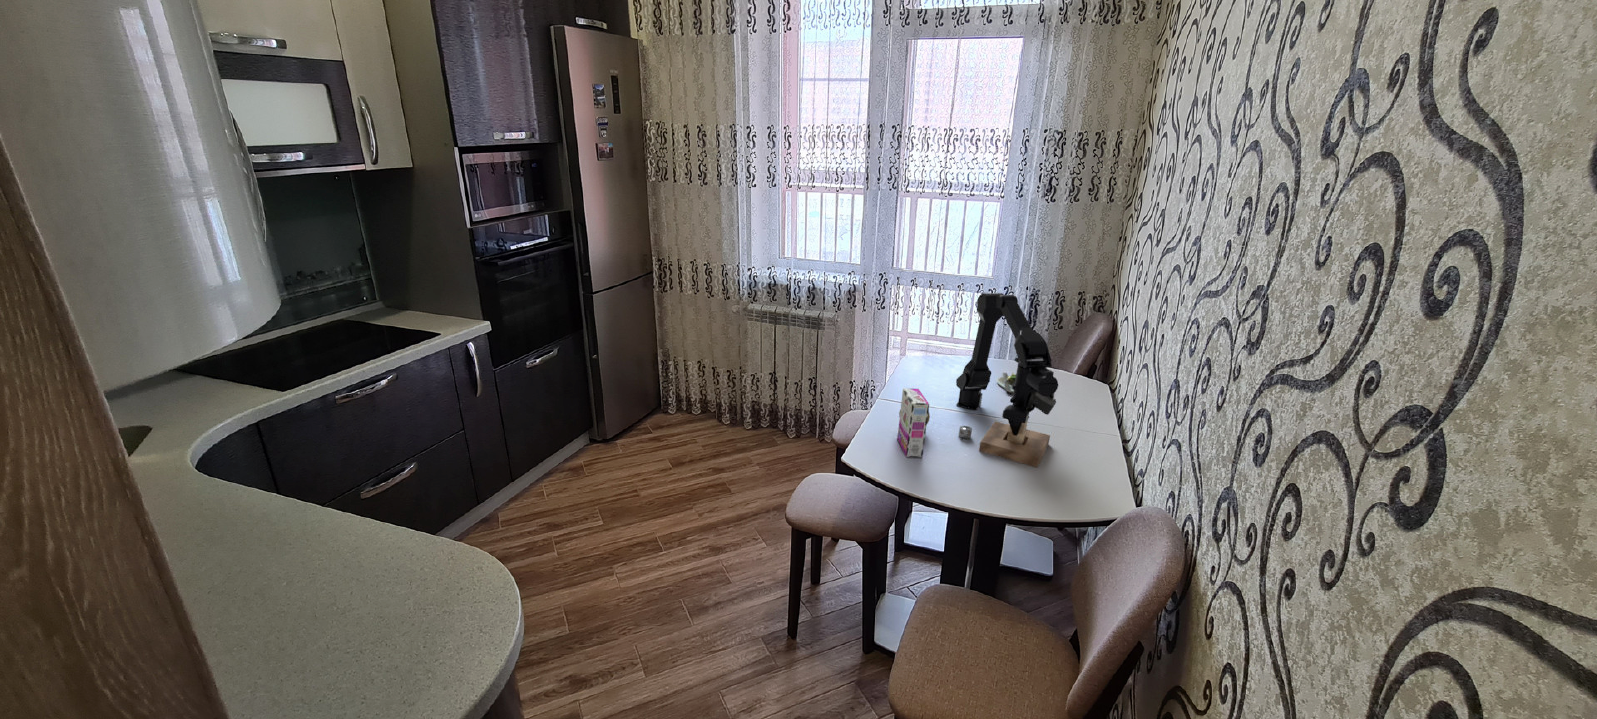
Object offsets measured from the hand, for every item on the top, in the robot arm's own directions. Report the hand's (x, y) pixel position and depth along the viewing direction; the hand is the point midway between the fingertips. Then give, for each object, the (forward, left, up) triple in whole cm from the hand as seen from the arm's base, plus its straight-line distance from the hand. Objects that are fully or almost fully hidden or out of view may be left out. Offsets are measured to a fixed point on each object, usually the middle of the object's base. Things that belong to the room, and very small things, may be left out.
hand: (1016, 432), depth 176 cm
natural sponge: (-28, -8, -5) cm, 30 cm away
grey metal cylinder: (-14, -2, -5) cm, 15 cm away
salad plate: (-8, +48, -6) cm, 49 cm away
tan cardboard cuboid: (0, 0, -3) cm, 3 cm away
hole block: (0, 0, -5) cm, 5 cm away
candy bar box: (-25, -18, -5) cm, 31 cm away
